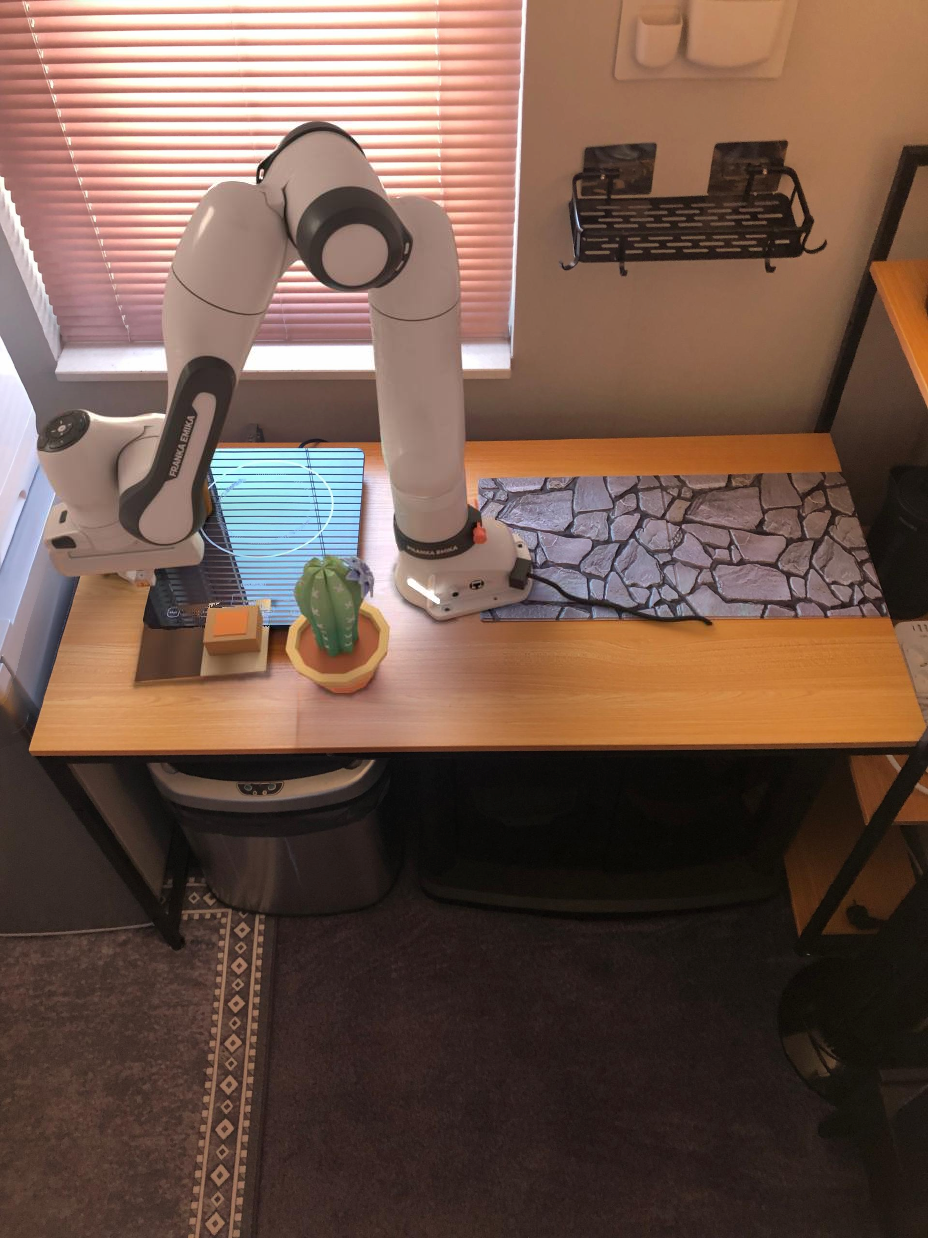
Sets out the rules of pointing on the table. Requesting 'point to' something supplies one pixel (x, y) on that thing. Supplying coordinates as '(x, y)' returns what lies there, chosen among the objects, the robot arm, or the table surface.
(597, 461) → the table surface
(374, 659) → the potted cactus
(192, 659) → the board
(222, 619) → the coffee packet
